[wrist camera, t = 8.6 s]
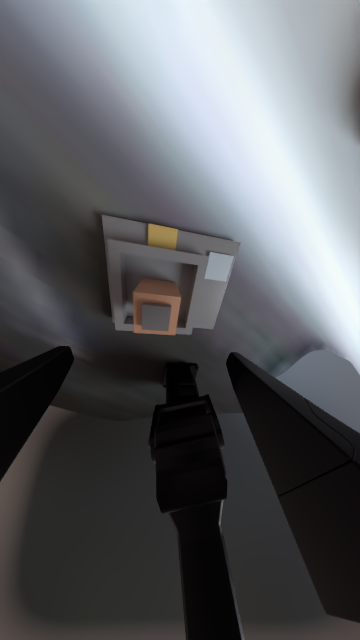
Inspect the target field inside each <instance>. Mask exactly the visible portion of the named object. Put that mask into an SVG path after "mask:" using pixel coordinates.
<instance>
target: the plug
mask: <svg viewBox="0 0 360 640" xmlns="http://www.w3.org/2000/svg"><path fill="white" fill-rule="evenodd" d="M180 302H181V295H180V293H179V290H178V287H177V285H176V282H170V281H162V280H155V279H147V278H143V279H142V280H141V282H140V283H139V284H138V286H137V287H136V289H135V290H134V291H133V313H134V333H147V334H164V335H175V333H176V327H177V321H178V314H179V308H180Z"/></svg>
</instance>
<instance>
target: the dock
mask: <svg viewBox="0 0 360 640" xmlns="http://www.w3.org/2000/svg"><path fill="white" fill-rule="evenodd" d="M102 222H103V232H104V242H105V252H106V261H107V271H108V281H109V290H110V300H111V310H112V320H113V322H115V328H116V330H124V331H134V313H133V291H134V290H135V289H136V287H137V286H138V284H139V283H140V282H141V280H142V279H143V278H147V279H155V280H162V281H170V282H176V285H177V287H178V290H179V293H180V295H181V302H180V308H179V314H178V321H177V327H176V333H175V334H188V335H191V334H192V330H193V328H206V329H213V328H214V325H215V321H216V318H217V315H218V312H219V309H220V306H221V303H222V299H223V296H224V293H225V290H226V287H227V284H228V281H229V277H230V274H231V271H232V268H233V265H234V262H235V258H236V255H237V252H238V249H239V246H240V242H235V241H230V240H225V239H220V238H215V237H210V236H205V235H200V234H195V233H190V232H185V231H180V230H178V229H174V228H169V227H164V226H159V225H154V224H146V223H141V222H136V221H131V220H126V219H121V218H116V217H111V216H106V215H102Z"/></svg>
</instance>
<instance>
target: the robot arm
mask: <svg viewBox="0 0 360 640" xmlns="http://www.w3.org/2000/svg"><path fill="white" fill-rule="evenodd" d="M73 361H74V357H73V354H72V351H71V348H70V347H69V346H58V347H56V348H54V349H52V350H49V351H47V352H45V353H43V354H40V355H38V356H36V357H34V358H32V359H29V360H27V361H25V362H23V363H20V364H18V365H16V366H14V367H12V368H9V369H7V370H5V371H3V372H1V373H0V481H1V480H2V478H3V477H4V475H5V473H6V472H7V470H8V469H9V467H10V466H11V464H12V463H13V461H14V460H15V458H16V456H17V455H18V453H19V452H20V450H21V448H22V447H23V445H24V444H25V442H26V441H27V439H28V437H29V436H30V434H31V433H32V432H33V430H34V428H35V427H36V425H37V423H38V422H39V421H40V419H41V417H42V416H43V414H44V413H45V411H46V410H47V408H48V406H49V405H50V404H51V402H52V400H53V399H54V397H55V396H56V394H57V392H58V391H59V389H60V387H61V385H62V383H63V381H64V379H65V377H66V375H67V373H68V371H69V370H70V368H71V366H72V364H73ZM167 366H168V367H167ZM226 366H227V369H228V372H229V376H230V379H231V382H232V386H233V389H234V391H235V394H236V396H237V399H238V401H239V404H240V406H241V408H242V411H243V413H244V416H245V418H246V421H247V423H248V425H249V428H250V430H251V433H252V435H253V438H254V440H255V443H256V445H257V447H258V450H259V452H260V455H261V457H262V460H263V462H264V465H265V467H266V469H267V472H268V474H269V477H270V479H271V481H272V484H273V486H274V488H275V491H276V494H277V496H278V499H279V501H280V504H281V506H282V509H283V511H284V513H285V516H286V519H287V521H288V523H289V526H290V528H291V531H292V533H293V535H294V538H295V540H296V543H297V545H298V548H299V550H300V553H301V555H302V558H303V560H304V562H305V565H306V567H307V570H308V572H309V575H310V577H311V580H312V582H313V584H314V587H315V589H316V592H317V594H318V597H319V599H320V601H321V604H322V606H323V608H324V610H325V612H326V614H327V615H331V616H335V617H338V618H342V619H346V620H349V621H353V622H357V623H360V433H359V432H357V431H355V430H354V429H352V428H351V427H349V426H347V425H346V424H344V423H343V422H341V421H339V420H338V419H336V418H335V417H333V416H331V415H330V414H328V413H327V412H325V411H324V410H322V409H321V408H319V407H318V406H316V405H314V404H313V403H312V402H310V401H309V400H307V399H306V398H303V396H301V395H300V394H298V393H297V392H295V391H294V390H292V389H291V388H289V387H288V386H286V385H285V384H283V383H282V382H281V381H279V380H277V379H276V378H275V377H273V376H272V375H270V374H269V373H267V372H266V371H264V370H263V369H261V368H260V367H258V366H257V365H255V364H254V363H252V362H251V361H249V360H248V359H246V358H245V357H243V356H242V355H240V354H239V353H237V352H231V353H230V354H229V356H228V359H227V361H226ZM197 371H198V365H197V364H166V365H165V370H164V378H163V387H164V388H166V404H162V405H155V411H154V413H153V419H152V425H151V432H150V437H149V440H148V446H149V448H150V449H151V457H152V461H153V463H156V491H157V492H156V495H157V496H156V497H157V501H158V504H159V507H160V510H161V513H162V514H165V513H168V514H169V516H170V519H171V521H172V523H173V525H174V527H175V529H176V531H177V536H178V547H179V560H180V572H181V584H182V595H183V608H184V620H185V632H186V640H245V639H244V635H243V629H242V624H241V619H240V614H239V609H238V604H237V600H236V595H235V590H234V585H233V581H232V575H231V570H230V566H229V561H228V556H227V551H226V546H225V541H224V536H223V531H222V527H221V515H222V507H223V500H226V497H227V479H226V470H225V466H224V462H223V458H222V453H221V448H224V440H223V436H222V432H221V428H220V425H219V421H218V419H217V416H216V413H215V410H214V408H213V405H212V403H211V400H210V397H209V395H208V394H207V395H205V396H201V397H199V393H198V389H197V385H196V381H195V377H196V374H197Z"/></svg>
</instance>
